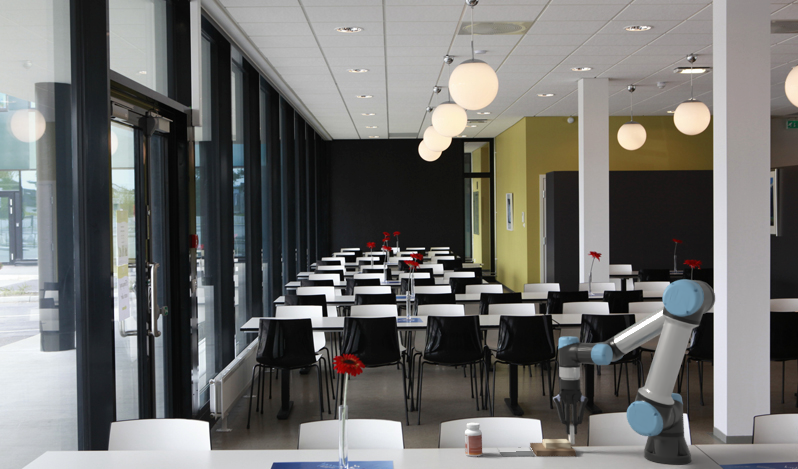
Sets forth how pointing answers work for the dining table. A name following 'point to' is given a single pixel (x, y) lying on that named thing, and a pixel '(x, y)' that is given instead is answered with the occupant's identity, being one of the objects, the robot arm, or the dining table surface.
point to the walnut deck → (551, 451)
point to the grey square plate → (517, 454)
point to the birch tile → (556, 443)
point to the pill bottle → (473, 440)
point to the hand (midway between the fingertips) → (571, 443)
